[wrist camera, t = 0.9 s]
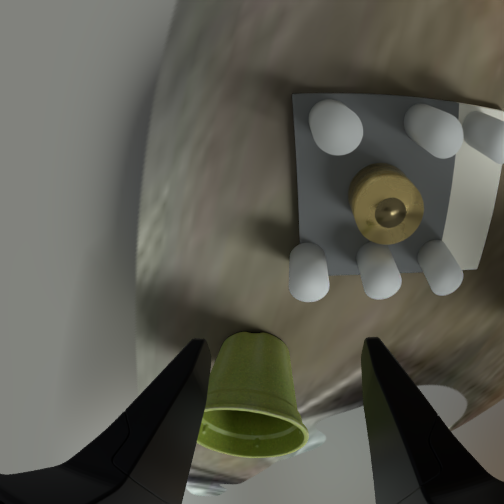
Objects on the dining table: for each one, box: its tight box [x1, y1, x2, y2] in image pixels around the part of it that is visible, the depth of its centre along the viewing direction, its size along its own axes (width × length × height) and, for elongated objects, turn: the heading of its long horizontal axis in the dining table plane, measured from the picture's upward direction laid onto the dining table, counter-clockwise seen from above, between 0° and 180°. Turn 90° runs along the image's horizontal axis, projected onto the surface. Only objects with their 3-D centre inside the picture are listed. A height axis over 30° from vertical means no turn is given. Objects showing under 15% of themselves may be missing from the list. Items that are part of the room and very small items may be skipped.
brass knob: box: [348, 163, 424, 245], centre depth 17 cm, size 4×4×3 cm
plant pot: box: [197, 332, 309, 458], centre depth 24 cm, size 9×9×9 cm
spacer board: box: [289, 93, 504, 302], centre depth 17 cm, size 15×12×4 cm
